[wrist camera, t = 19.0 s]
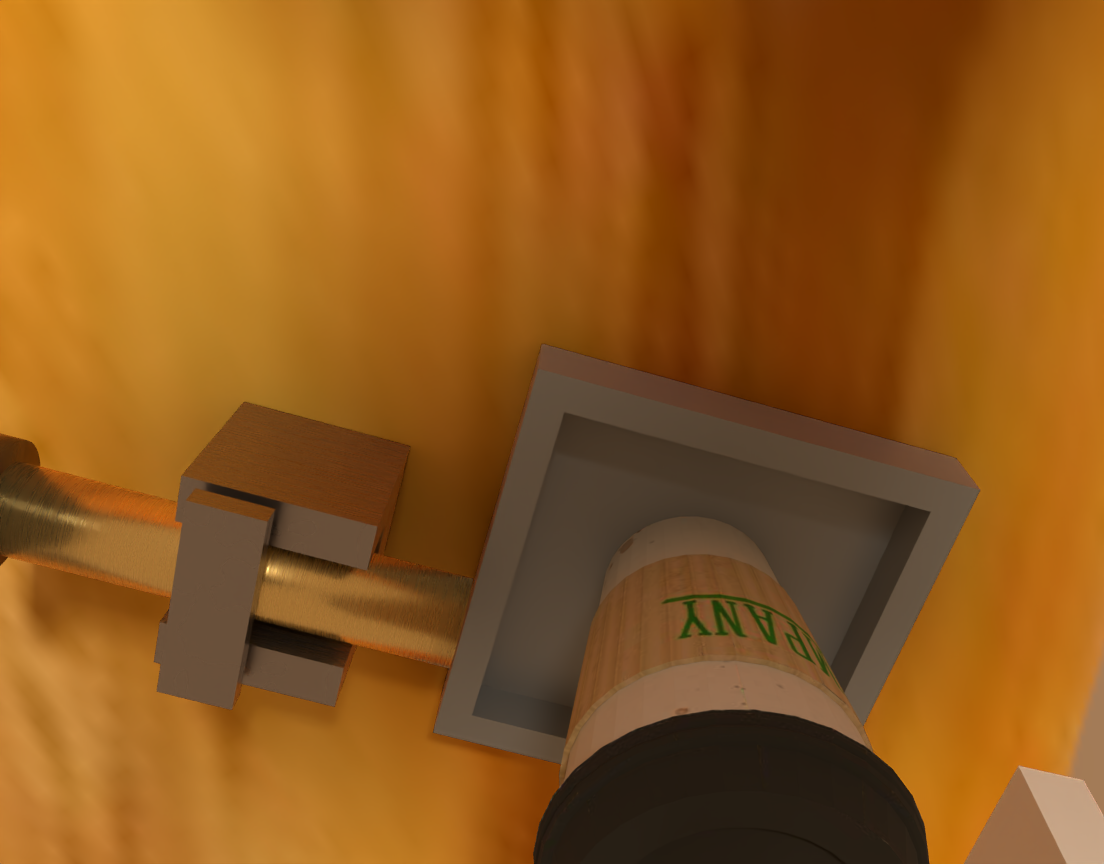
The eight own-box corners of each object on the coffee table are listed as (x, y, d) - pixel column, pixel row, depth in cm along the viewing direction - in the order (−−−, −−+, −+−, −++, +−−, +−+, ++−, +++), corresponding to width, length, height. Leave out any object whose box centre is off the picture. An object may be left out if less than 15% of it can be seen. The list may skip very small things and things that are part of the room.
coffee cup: (850, 663, 39) (986, 1030, 25) (601, 726, 41) (602, 1103, 27) (786, 435, 36) (904, 719, 22) (515, 513, 37) (468, 823, 24)
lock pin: (8, 409, 34) (-70, 466, 30) (484, 534, 36) (469, 605, 32) (0, 522, 36) (-75, 591, 32) (454, 638, 37) (436, 718, 33)
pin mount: (244, 401, 37) (165, 495, 30) (410, 446, 37) (368, 547, 30) (216, 567, 39) (138, 686, 33) (370, 606, 40) (324, 732, 33)
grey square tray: (541, 343, 35) (538, 368, 33) (956, 458, 36) (980, 489, 34) (442, 690, 41) (432, 732, 39) (801, 781, 42) (813, 826, 40)
